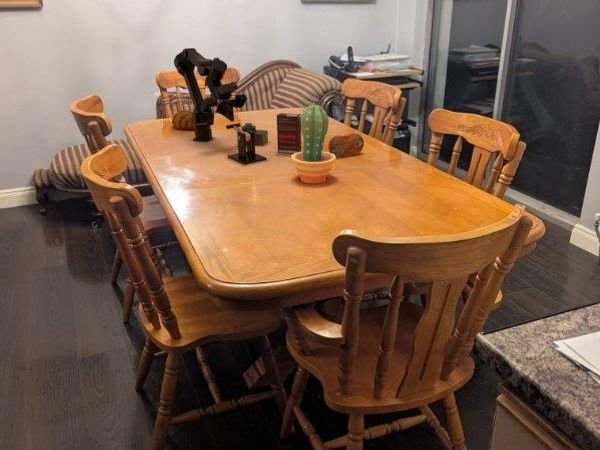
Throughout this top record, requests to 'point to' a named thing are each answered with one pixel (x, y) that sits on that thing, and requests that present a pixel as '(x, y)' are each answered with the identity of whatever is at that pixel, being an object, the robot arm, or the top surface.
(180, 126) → the pastry
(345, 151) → the tin
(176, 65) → the robot arm
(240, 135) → the bracket
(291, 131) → the supplement box
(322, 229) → the top surface
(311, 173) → the potted cactus
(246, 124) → the button
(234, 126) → the lever
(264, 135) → the control block
